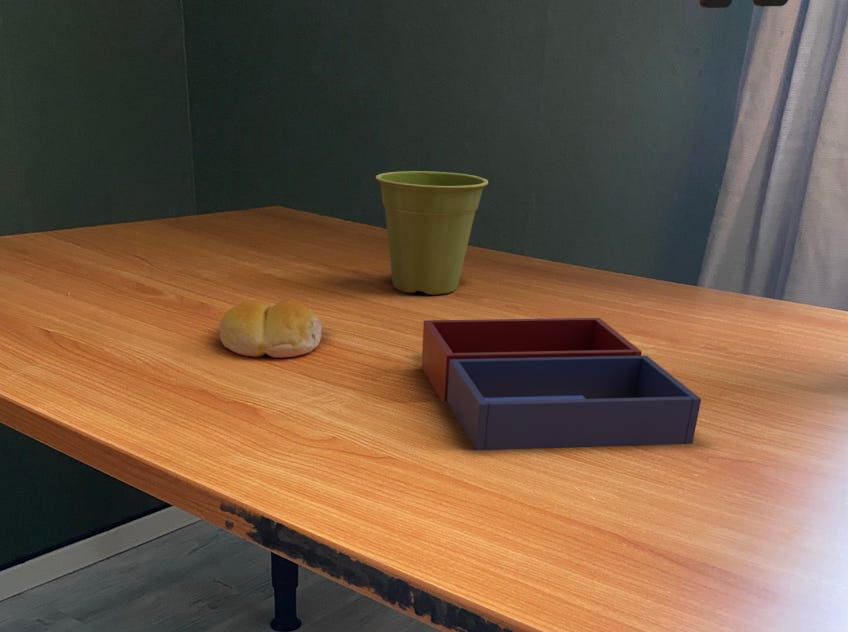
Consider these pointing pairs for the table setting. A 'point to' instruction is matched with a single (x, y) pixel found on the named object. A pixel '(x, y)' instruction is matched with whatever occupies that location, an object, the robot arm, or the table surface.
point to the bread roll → (270, 329)
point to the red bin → (515, 342)
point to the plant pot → (429, 227)
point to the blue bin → (570, 402)
